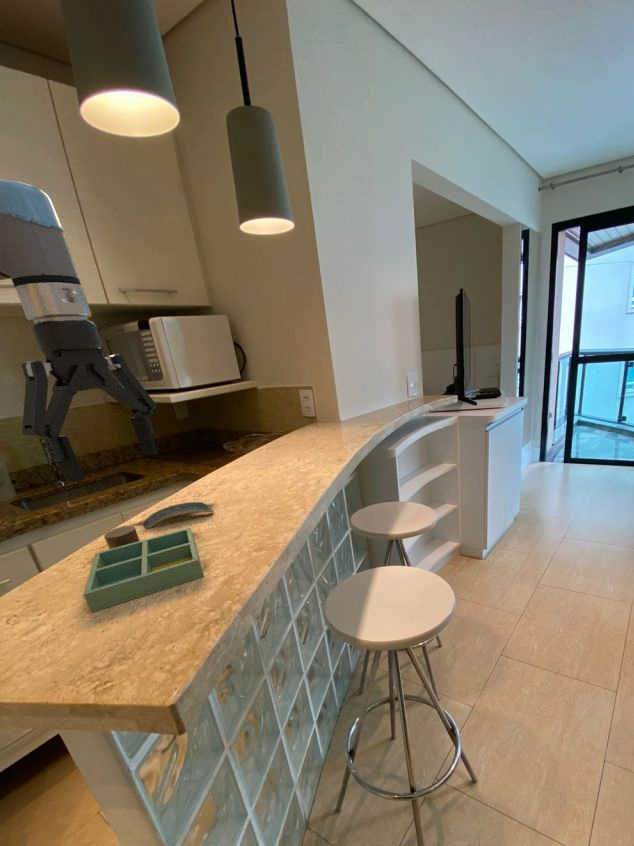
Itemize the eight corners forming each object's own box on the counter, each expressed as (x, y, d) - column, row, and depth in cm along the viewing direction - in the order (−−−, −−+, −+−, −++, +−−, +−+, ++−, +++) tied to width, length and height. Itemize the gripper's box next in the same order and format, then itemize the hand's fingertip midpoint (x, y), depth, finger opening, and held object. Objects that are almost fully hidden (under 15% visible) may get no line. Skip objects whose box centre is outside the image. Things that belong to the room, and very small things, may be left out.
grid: (101, 568, 71) (95, 552, 70) (195, 541, 78) (190, 527, 76) (91, 612, 59) (83, 594, 57) (204, 576, 65) (198, 559, 64)
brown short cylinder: (113, 549, 78) (105, 531, 77) (142, 541, 80) (135, 523, 79) (111, 559, 74) (102, 540, 73) (141, 551, 76) (134, 532, 75)
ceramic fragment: (144, 530, 86) (138, 513, 84) (148, 521, 90) (143, 505, 89) (214, 516, 89) (209, 499, 88) (215, 508, 94) (210, 492, 93)
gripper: (-26, 317, 45) (54, 494, 54) (153, 318, 67) (190, 445, 75) (-65, 325, 48) (17, 493, 56) (119, 324, 69) (159, 446, 78)
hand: (116, 466), depth 66 cm, fingers open, 13 cm apart
